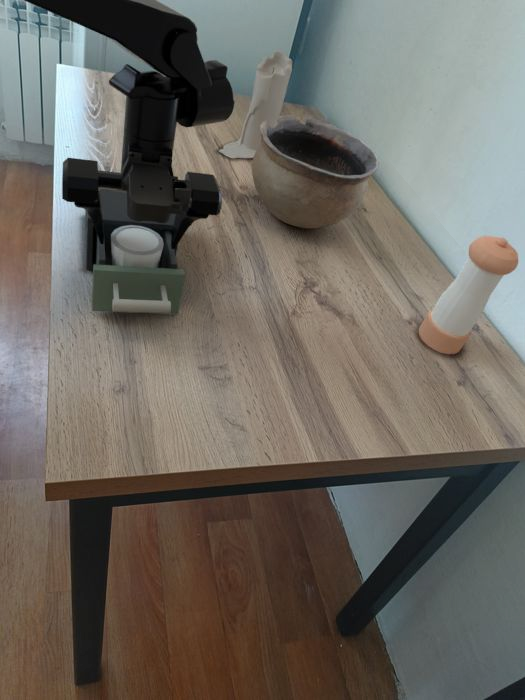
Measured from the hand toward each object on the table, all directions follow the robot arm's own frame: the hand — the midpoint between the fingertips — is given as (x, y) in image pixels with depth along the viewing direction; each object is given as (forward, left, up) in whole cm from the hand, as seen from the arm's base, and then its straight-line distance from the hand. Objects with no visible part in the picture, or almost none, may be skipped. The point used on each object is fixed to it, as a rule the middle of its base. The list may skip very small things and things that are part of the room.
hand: (138, 245), depth 71 cm
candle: (+28, +51, -8) cm, 59 cm away
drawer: (0, -2, -7) cm, 7 cm away
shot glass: (0, 0, -6) cm, 6 cm away
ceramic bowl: (+33, +25, -8) cm, 42 cm away
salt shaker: (+48, -9, -8) cm, 49 cm away
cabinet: (0, +11, -8) cm, 14 cm away
